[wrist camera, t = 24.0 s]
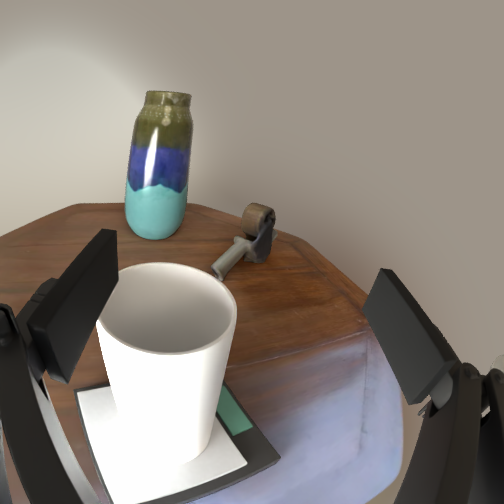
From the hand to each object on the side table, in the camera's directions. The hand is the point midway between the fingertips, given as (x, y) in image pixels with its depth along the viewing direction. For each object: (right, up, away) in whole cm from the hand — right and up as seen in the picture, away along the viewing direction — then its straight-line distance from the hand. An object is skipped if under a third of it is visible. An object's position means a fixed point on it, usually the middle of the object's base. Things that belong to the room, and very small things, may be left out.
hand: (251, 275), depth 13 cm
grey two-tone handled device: (-2, -1, +46) cm, 46 cm away
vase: (-22, +5, +50) cm, 55 cm away
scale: (-9, -18, +10) cm, 22 cm away
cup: (-8, -16, +9) cm, 20 cm away
